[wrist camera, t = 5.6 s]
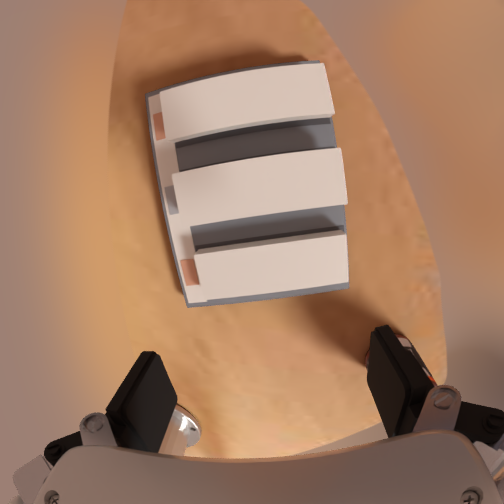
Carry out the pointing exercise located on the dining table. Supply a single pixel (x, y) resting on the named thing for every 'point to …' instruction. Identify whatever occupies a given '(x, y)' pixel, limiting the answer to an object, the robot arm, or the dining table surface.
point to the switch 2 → (273, 265)
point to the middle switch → (260, 186)
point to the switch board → (243, 229)
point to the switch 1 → (246, 100)
